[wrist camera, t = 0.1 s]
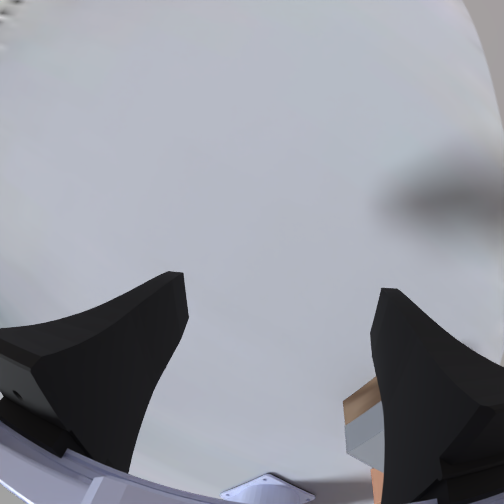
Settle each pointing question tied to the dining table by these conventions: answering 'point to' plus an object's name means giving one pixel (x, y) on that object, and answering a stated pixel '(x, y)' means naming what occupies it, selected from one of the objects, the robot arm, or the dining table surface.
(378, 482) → the tan clay cube
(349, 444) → the slate slab
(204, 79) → the dining table surface
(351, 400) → the walnut slab
